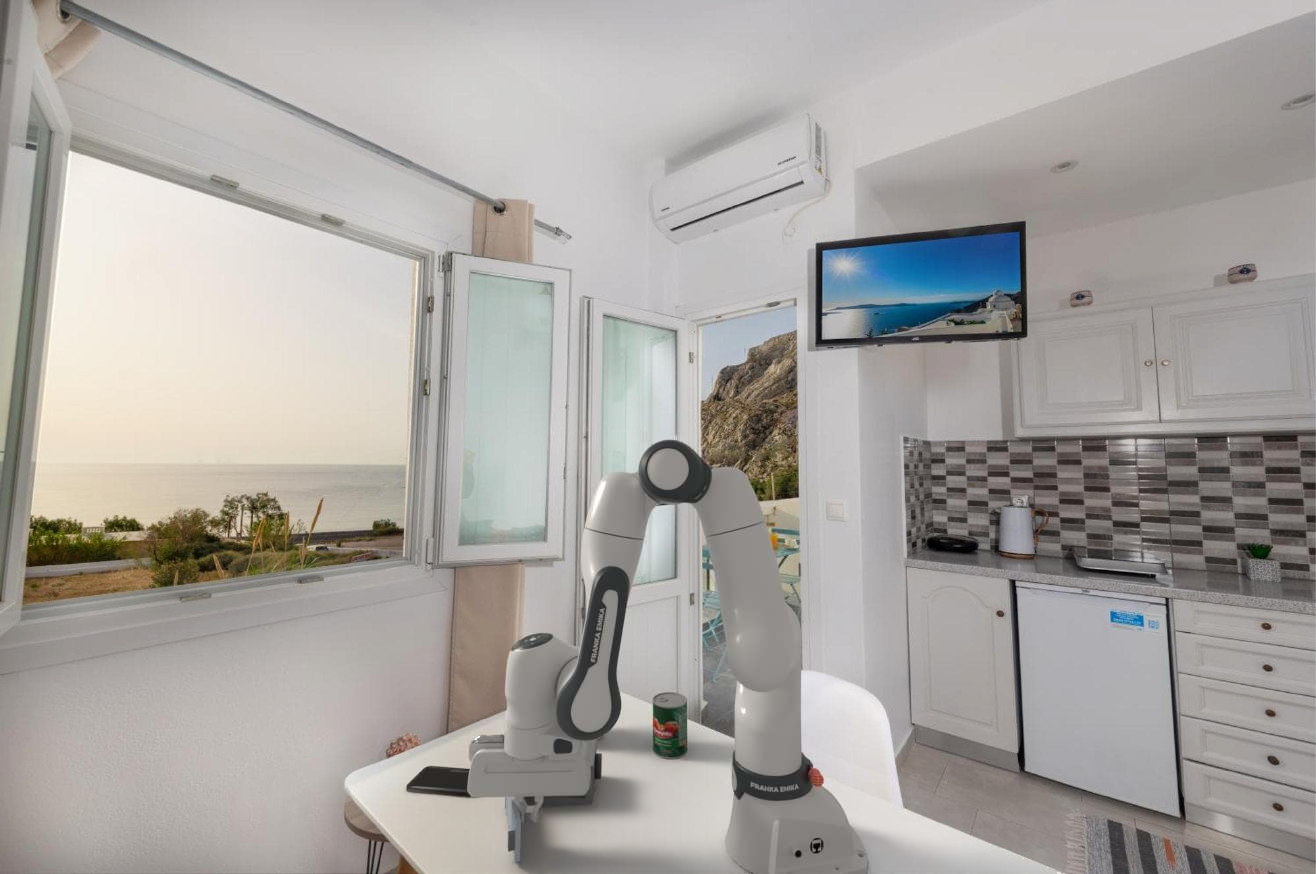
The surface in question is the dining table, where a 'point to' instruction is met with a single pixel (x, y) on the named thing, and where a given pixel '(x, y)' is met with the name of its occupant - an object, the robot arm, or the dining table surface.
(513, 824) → the side door
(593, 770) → the box
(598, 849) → the dining table surface
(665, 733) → the canned tomato
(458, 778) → the phone
